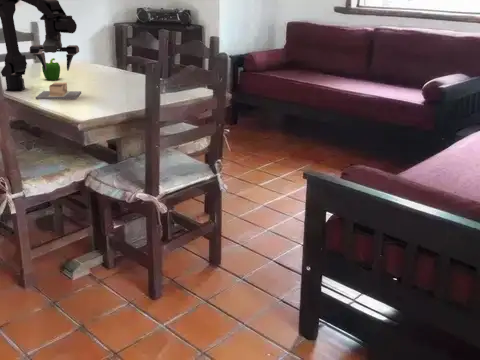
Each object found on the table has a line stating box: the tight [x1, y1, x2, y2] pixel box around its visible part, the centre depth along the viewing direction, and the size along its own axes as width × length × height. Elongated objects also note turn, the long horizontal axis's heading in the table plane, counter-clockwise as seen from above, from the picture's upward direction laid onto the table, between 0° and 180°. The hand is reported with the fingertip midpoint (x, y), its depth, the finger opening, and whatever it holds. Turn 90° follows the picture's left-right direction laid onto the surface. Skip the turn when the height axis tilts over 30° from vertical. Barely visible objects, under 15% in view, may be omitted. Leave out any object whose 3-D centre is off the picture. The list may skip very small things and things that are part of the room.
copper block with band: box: [48, 81, 68, 96], centre depth 230 cm, size 9×5×4 cm, turn 3°
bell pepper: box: [41, 57, 61, 81], centre depth 262 cm, size 8×8×10 cm
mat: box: [35, 90, 82, 100], centre depth 231 cm, size 16×12×1 cm
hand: (56, 70), depth 227 cm, fingers open, 9 cm apart
